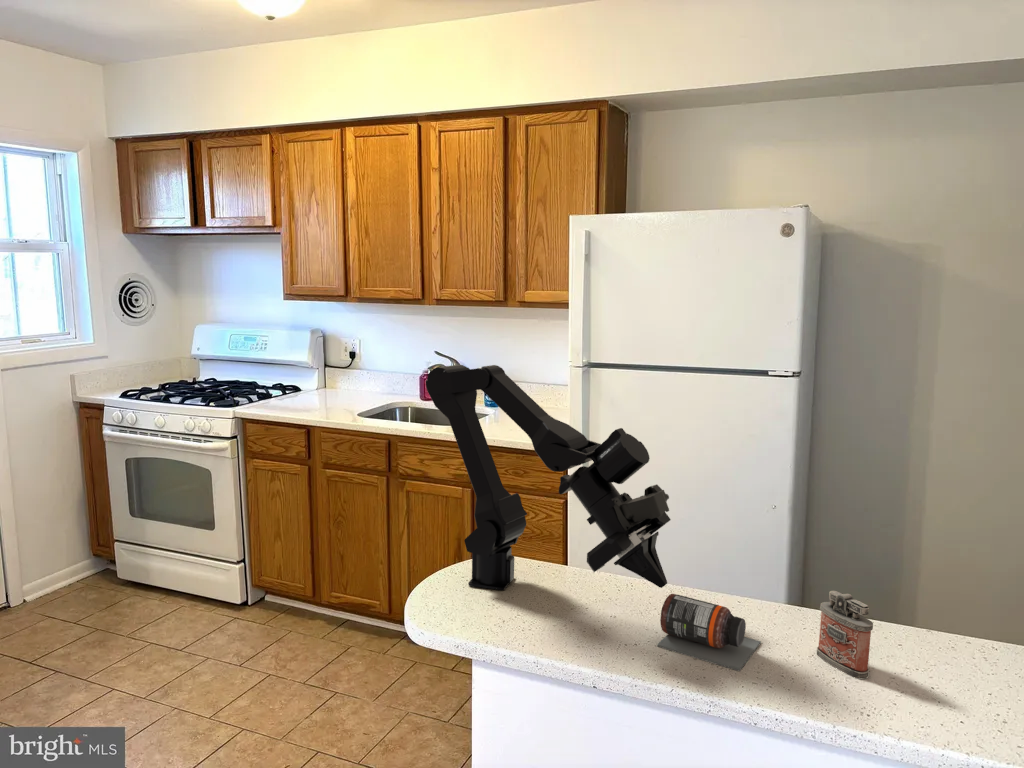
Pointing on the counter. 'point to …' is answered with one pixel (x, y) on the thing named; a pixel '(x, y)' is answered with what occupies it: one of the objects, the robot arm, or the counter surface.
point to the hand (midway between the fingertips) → (664, 585)
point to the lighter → (845, 634)
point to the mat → (713, 651)
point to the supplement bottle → (701, 622)
